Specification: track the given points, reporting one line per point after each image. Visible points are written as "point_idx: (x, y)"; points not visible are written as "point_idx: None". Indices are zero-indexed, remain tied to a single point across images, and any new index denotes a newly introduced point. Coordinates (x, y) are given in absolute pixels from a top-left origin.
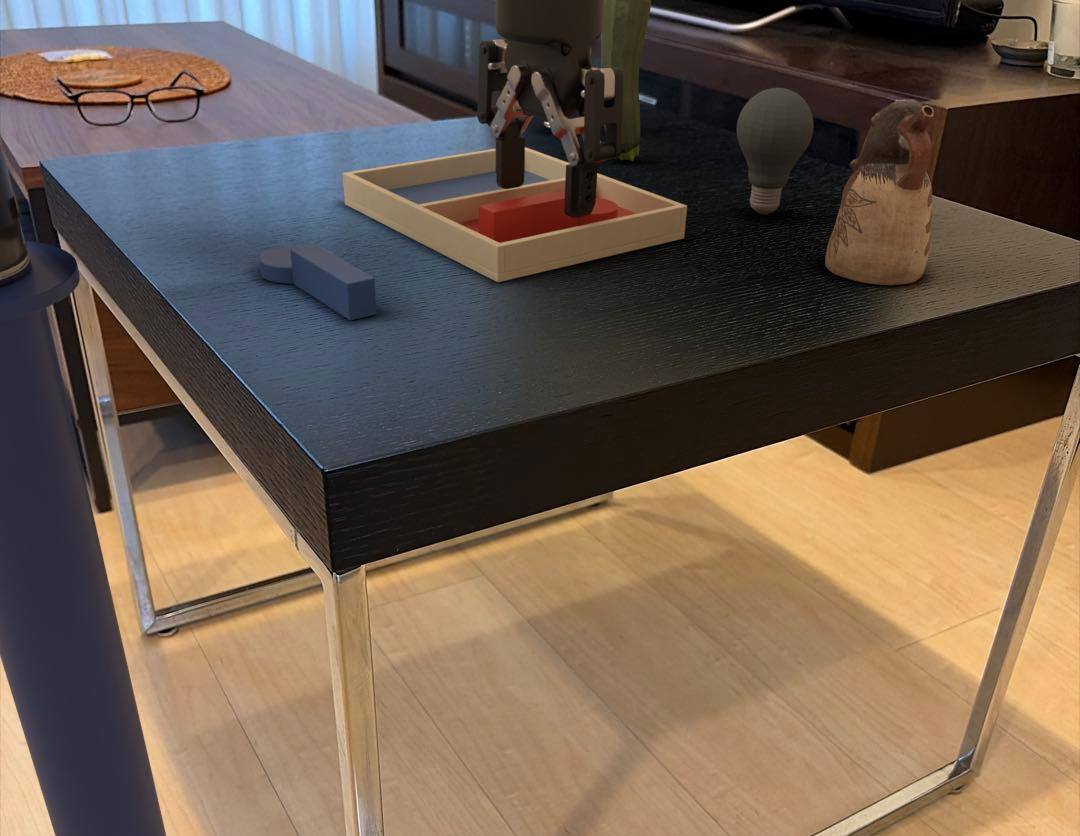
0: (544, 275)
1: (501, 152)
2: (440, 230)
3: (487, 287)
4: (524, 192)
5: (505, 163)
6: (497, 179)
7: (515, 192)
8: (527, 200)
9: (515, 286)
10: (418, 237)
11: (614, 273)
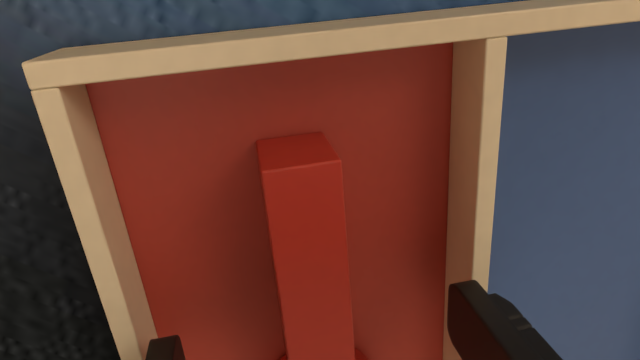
0: None
1: (501, 344)
2: (343, 25)
3: (38, 7)
4: None
5: (480, 331)
6: (477, 287)
7: None
8: (318, 294)
9: (23, 79)
10: (438, 10)
11: (43, 317)
